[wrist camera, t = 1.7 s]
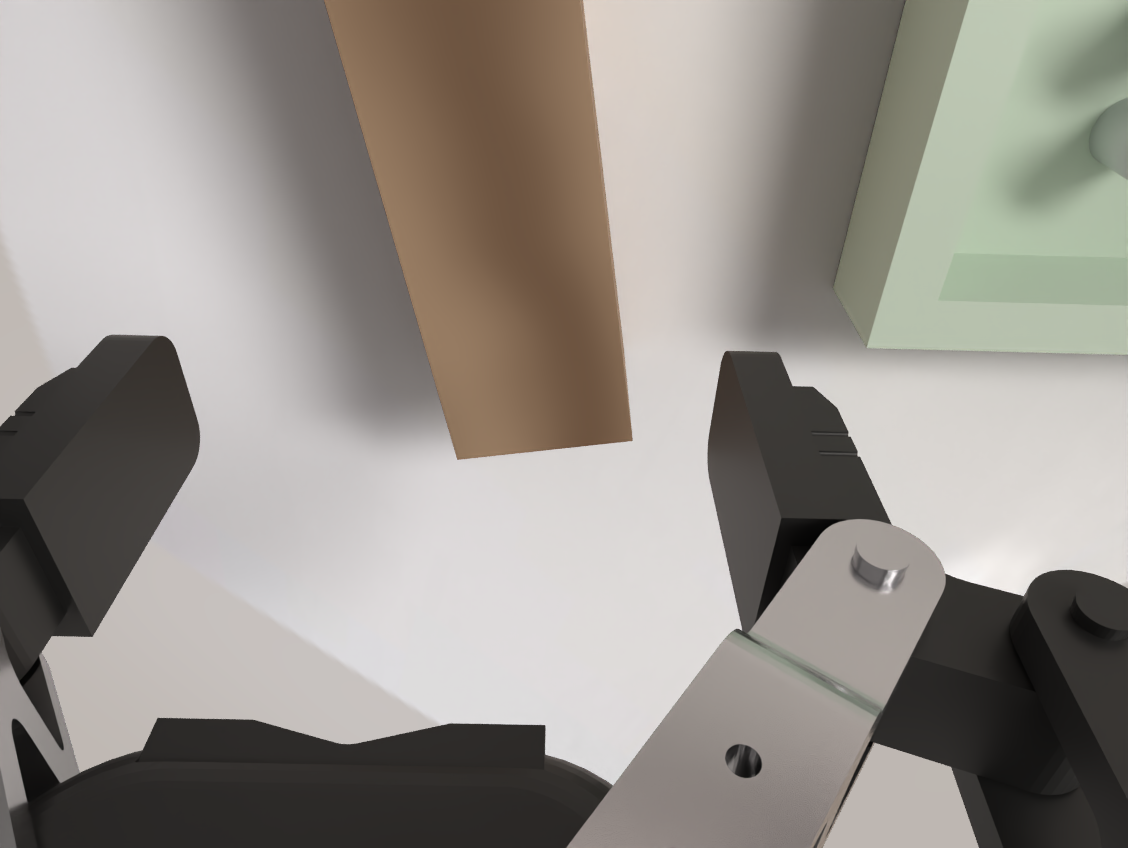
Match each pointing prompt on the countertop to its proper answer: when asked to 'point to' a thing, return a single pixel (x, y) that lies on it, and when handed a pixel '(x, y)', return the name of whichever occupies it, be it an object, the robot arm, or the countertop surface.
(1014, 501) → the countertop surface
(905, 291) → the pale green tray
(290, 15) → the countertop surface
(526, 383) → the walnut plank
